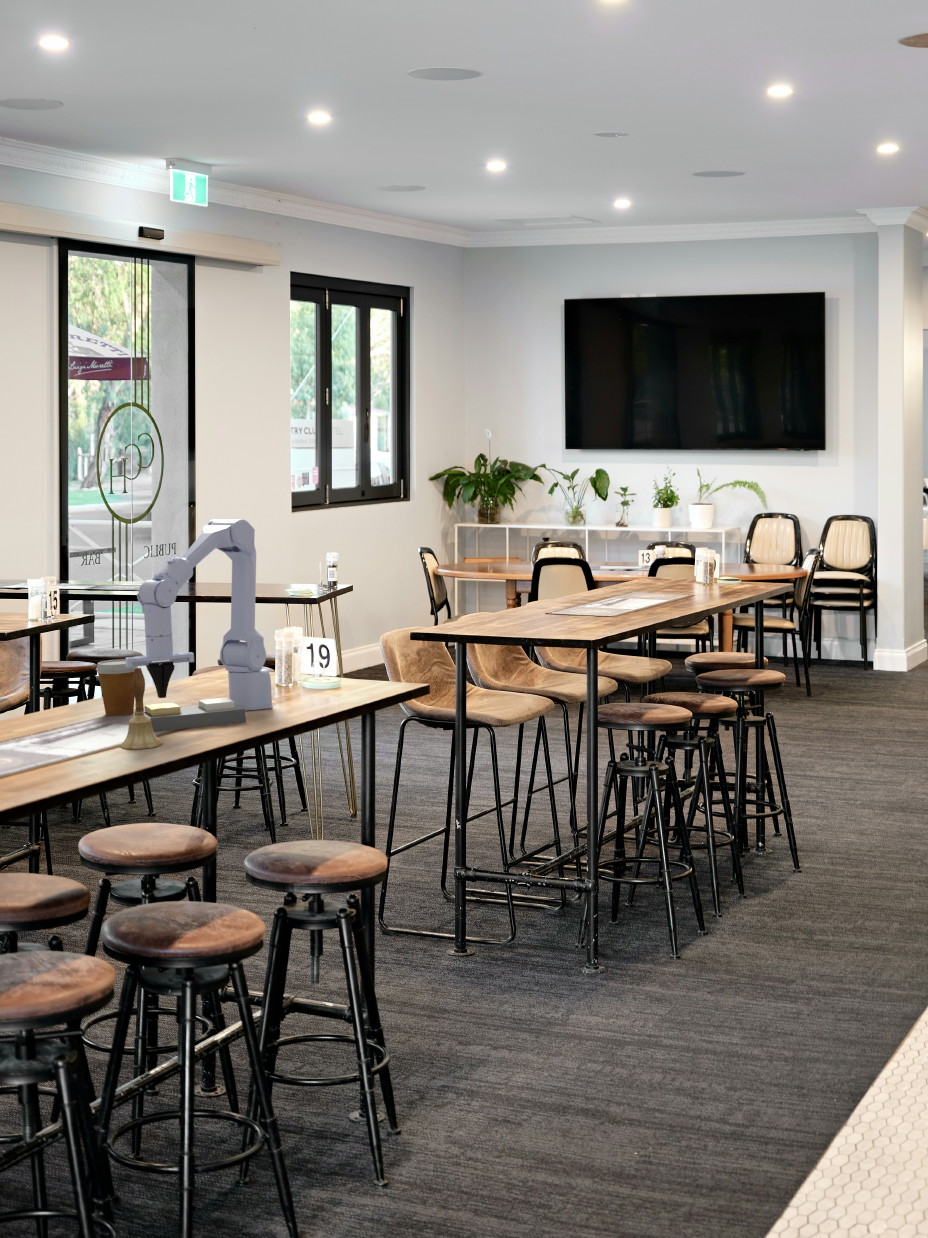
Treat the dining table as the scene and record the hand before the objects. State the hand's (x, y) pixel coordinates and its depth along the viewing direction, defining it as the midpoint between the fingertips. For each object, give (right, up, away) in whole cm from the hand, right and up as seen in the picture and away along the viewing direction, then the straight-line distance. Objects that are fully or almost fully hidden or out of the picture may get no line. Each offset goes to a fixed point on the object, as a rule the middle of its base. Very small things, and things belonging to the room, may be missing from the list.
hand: (161, 697), depth 321 cm
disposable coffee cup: (-14, -5, +19) cm, 24 cm away
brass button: (0, -5, +1) cm, 5 cm away
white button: (+11, -4, +6) cm, 13 cm away
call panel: (+6, -6, +3) cm, 9 cm away
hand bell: (0, -9, -20) cm, 22 cm away
